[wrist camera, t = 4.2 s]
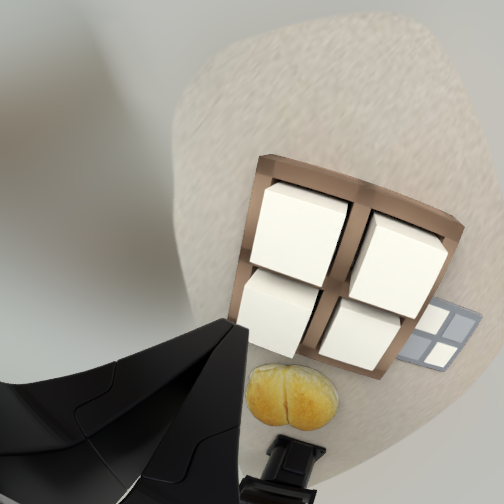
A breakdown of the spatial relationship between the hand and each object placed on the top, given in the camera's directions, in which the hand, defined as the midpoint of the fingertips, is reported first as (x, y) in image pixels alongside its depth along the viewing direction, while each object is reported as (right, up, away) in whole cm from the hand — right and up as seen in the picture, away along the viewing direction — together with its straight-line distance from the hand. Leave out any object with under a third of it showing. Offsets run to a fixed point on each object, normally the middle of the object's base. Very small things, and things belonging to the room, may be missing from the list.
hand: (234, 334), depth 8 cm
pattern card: (+15, -4, +10) cm, 18 cm away
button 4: (+4, +4, +9) cm, 11 cm away
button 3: (+3, -1, +12) cm, 12 cm away
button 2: (+9, +2, +8) cm, 12 cm away
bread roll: (+5, -11, +18) cm, 21 cm away
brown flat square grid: (+6, +1, +11) cm, 13 cm away
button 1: (+8, -2, +12) cm, 15 cm away
